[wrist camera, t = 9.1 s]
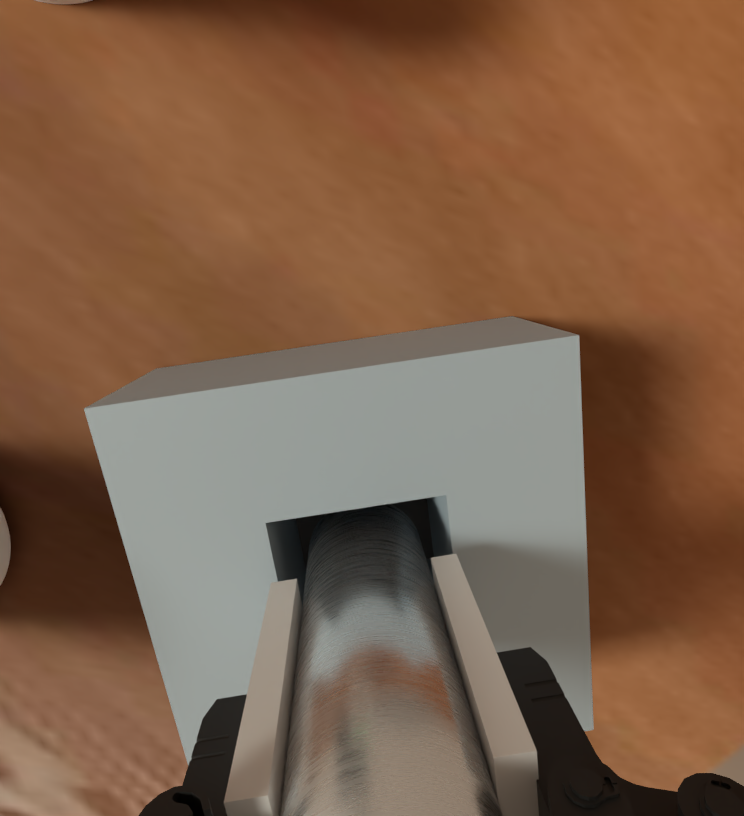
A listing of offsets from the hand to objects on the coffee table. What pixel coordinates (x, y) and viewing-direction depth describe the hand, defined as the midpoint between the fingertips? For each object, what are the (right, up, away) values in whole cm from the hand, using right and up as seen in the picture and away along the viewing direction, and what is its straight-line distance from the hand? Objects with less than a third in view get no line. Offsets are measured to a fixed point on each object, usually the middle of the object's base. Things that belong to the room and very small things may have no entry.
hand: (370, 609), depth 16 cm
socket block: (0, +2, +7) cm, 7 cm away
